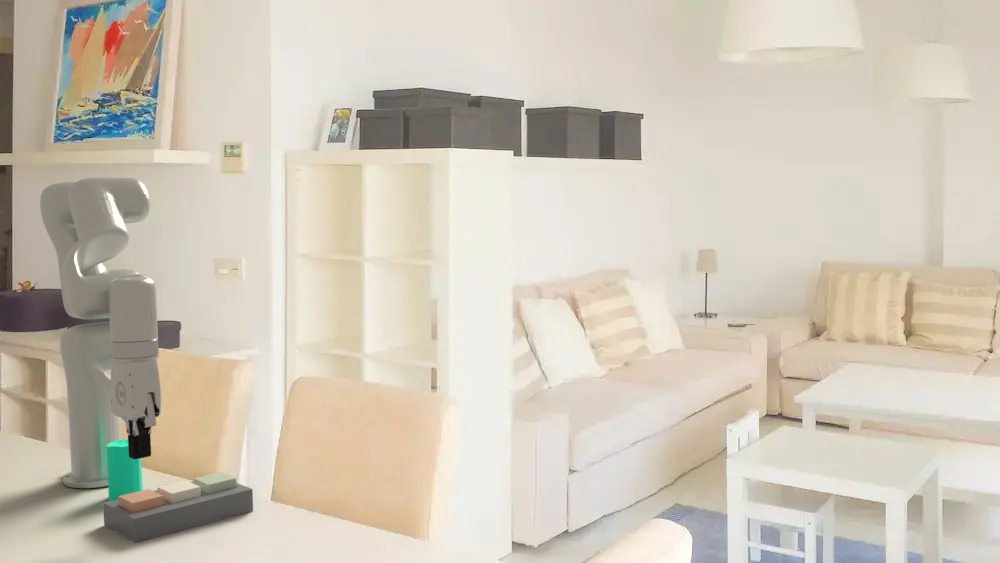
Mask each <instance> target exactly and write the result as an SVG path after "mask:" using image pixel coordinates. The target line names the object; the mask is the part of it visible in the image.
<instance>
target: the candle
mask: <svg viewBox="0 0 1000 563" xmlns="http://www.w3.org/2000/svg"><path fill="white" fill-rule="evenodd" d="M124 437H125V436H124V434H122V439H121V440H118V441H114V442H111V443H109V444H108V445H107V446H106V448H107V470H108V486H107V492H108V500H109V501H113V500H117V499H119V496H122V495H126V494H130V493H134V492H139V491H143V476H142V475H143V470H142V458H140V459H132V458H130V457H129V448H128V439H126V438H124Z"/></svg>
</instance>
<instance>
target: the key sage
mask: <svg viewBox="0 0 1000 563" xmlns="http://www.w3.org/2000/svg"><path fill="white" fill-rule="evenodd" d="M193 482H194V484H195V485H198V486H200V487H201V491H202V492H205V493H207V494H212V493H216V492H220V491H224V490H228V489H232V488H236V483H237V477H235V476H232V475H230V474H226V473H224V472H222V471H221V472H217V473H212V474H208V475H203V476H199V477H196V478H193Z"/></svg>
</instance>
